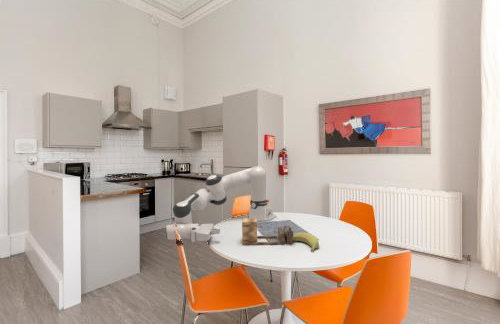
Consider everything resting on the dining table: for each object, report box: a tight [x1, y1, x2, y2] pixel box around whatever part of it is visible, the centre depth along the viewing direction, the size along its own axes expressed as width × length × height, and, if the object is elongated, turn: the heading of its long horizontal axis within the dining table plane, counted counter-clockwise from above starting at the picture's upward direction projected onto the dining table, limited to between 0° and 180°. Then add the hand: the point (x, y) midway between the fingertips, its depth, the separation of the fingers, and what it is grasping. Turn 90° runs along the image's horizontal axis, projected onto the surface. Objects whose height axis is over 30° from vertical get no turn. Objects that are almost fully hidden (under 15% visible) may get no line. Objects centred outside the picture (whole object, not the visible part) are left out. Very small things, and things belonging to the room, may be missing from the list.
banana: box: [293, 232, 320, 253], centre depth 140 cm, size 14×6×20 cm
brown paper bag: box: [241, 217, 258, 243], centre depth 146 cm, size 8×8×12 cm
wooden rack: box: [241, 225, 294, 246], centre depth 146 cm, size 28×12×10 cm, turn 91°
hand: (219, 231), depth 146 cm, fingers closed
